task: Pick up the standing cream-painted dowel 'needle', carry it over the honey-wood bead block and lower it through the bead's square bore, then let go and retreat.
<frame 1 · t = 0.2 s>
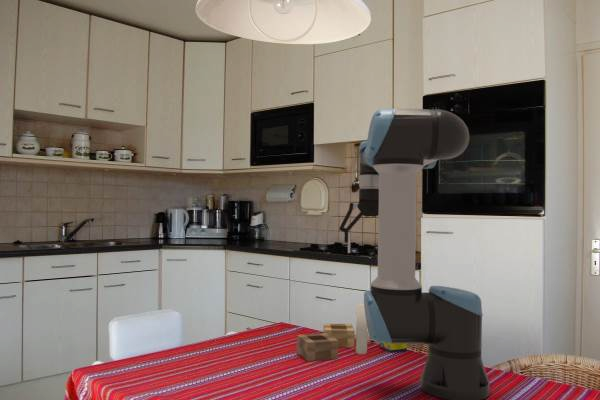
hand: (369, 253, 165), 27 cm above the table, fingers open, 13 cm apart
needle dowel: (361, 352, 146), on the table
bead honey: (338, 343, 156), on the table
supplement box: (393, 350, 150), on the table
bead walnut: (317, 355, 143), on the table
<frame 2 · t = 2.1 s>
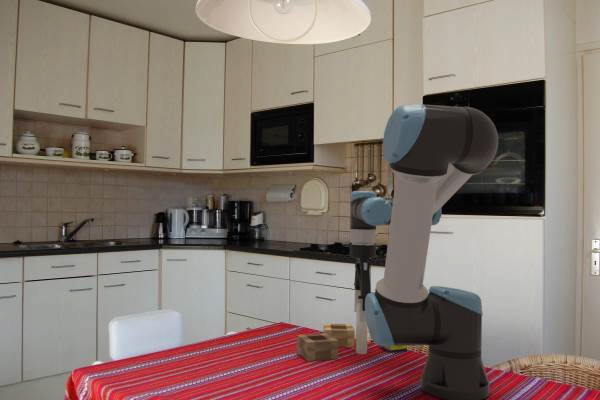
hand: (361, 316, 147), 10 cm above the table, fingers open, 13 cm apart
nothing on the table moved.
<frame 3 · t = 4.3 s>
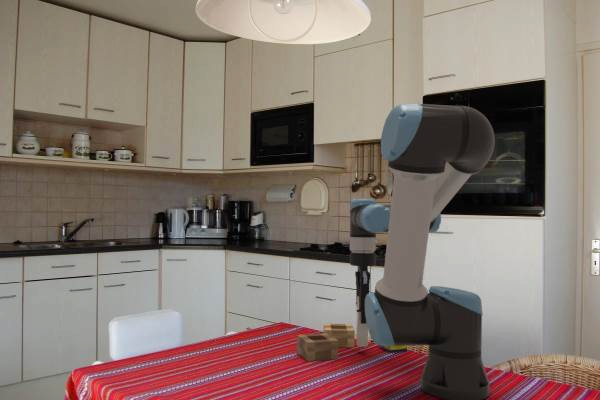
hand: (362, 333, 146), 6 cm above the table, fingers closed on needle dowel, 3 cm apart
needle dowel: (362, 345, 146), point 2 cm above the table, touching gripper
everything else where it was.
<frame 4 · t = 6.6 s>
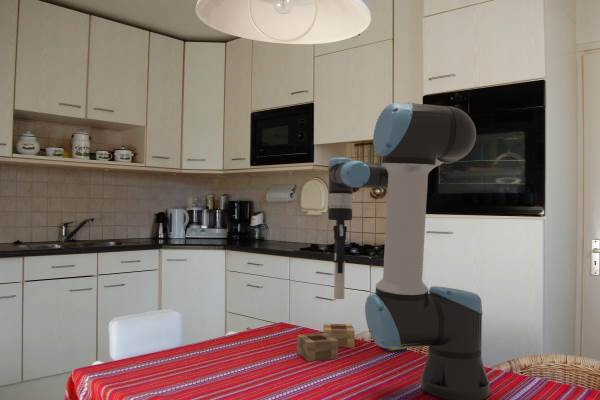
hand: (339, 282, 157), 19 cm above the table, fingers closed on needle dowel, 3 cm apart
needle dowel: (339, 298, 157), point 14 cm above the table, touching gripper
everything else where it was.
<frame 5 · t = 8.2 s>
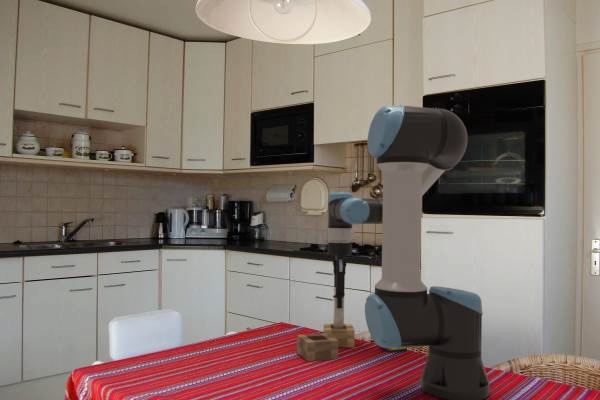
hand: (338, 317, 157), 8 cm above the table, fingers closed on needle dowel, 3 cm apart
needle dowel: (338, 332, 157), point 3 cm above the table, touching gripper
everything else where it was.
when the fingers open (6 cm above the table, at t = 9.6 s): needle dowel drops 1 cm, resting in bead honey.
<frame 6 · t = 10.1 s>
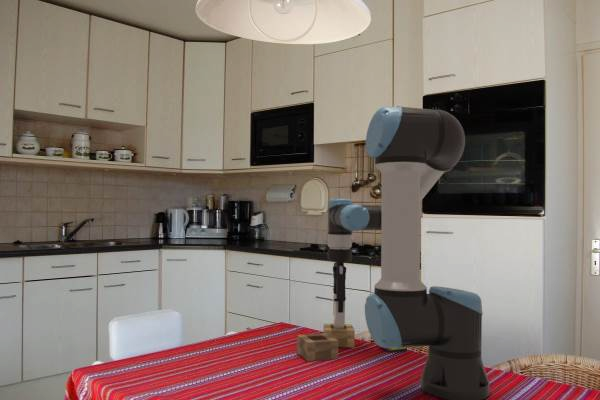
hand: (338, 319, 157), 7 cm above the table, fingers open, 11 cm apart
needle dowel: (338, 343, 156), resting in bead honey
everything else where it was.
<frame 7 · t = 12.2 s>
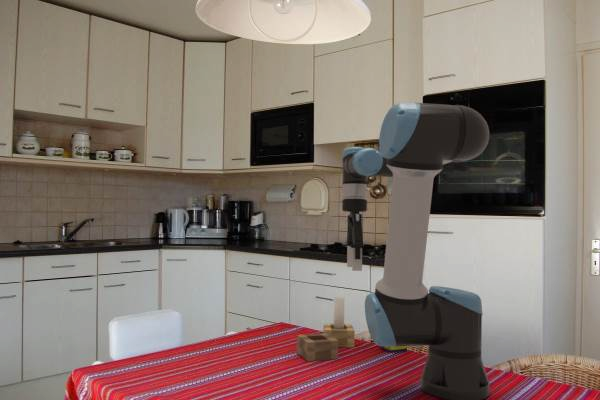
hand: (354, 268, 153), 24 cm above the table, fingers open, 13 cm apart
nothing on the table moved.
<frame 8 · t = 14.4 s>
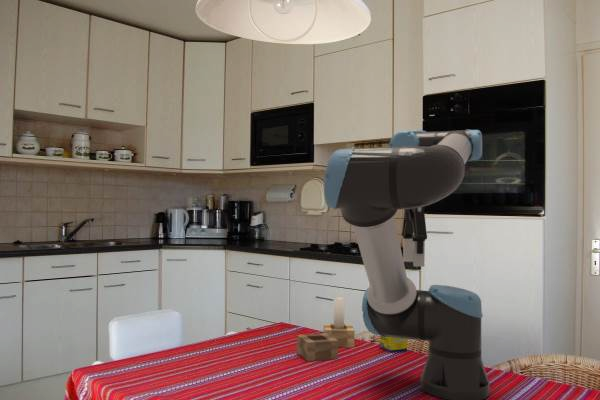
hand: (413, 263, 139), 27 cm above the table, fingers open, 13 cm apart
nothing on the table moved.
at the end: needle dowel 0.1 cm from the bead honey (horizontally); needle dowel resting in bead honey; needle dowel tilted 0° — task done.
